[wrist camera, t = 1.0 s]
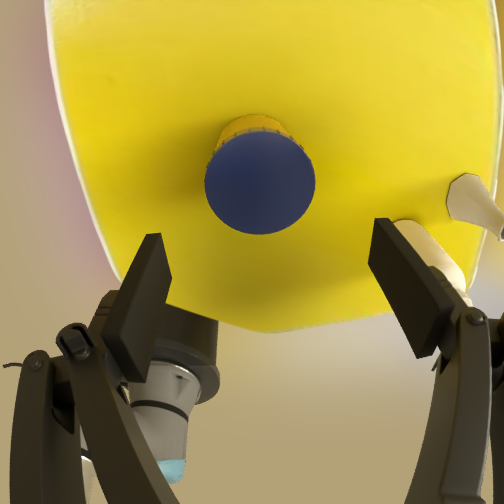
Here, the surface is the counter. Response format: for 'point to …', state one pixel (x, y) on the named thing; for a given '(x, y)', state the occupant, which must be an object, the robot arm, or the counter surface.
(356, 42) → the counter surface
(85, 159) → the counter surface
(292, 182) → the jam lid
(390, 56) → the counter surface
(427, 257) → the pill bottle
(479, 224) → the flask
